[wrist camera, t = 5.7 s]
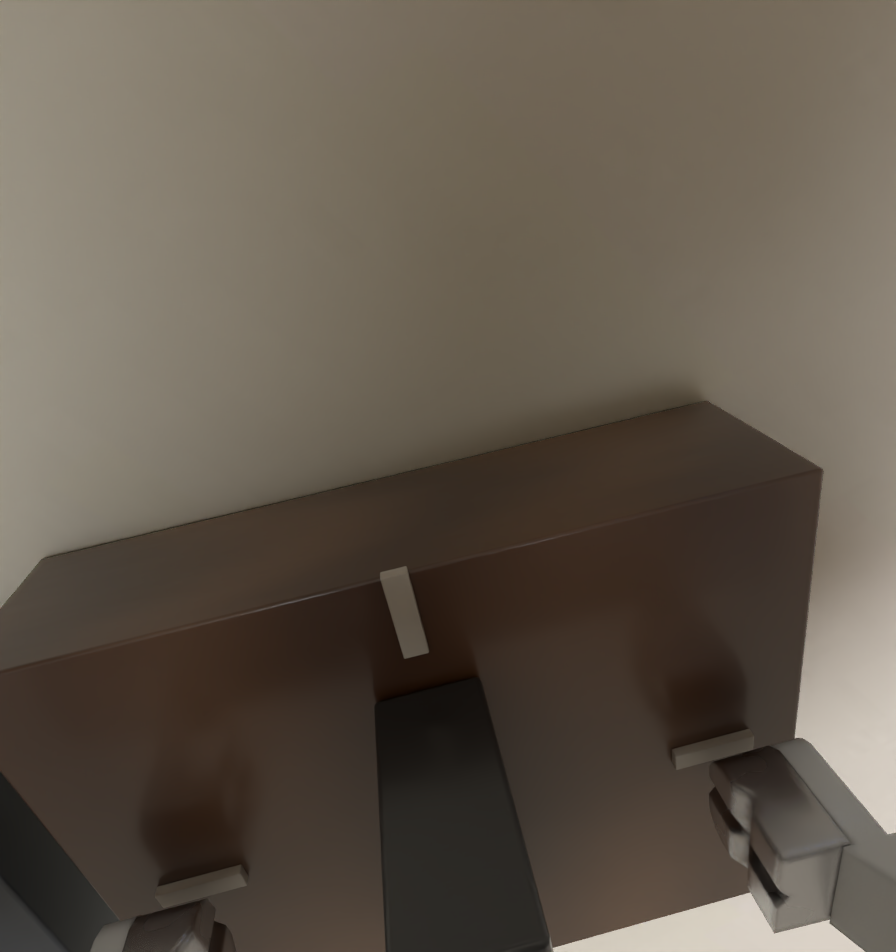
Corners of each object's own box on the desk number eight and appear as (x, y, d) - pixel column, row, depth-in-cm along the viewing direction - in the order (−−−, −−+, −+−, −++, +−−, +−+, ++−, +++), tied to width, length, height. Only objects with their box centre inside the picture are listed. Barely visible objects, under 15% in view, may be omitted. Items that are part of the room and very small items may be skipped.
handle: (372, 700, 9) (387, 1021, 5) (479, 672, 9) (560, 973, 5) (449, 923, 11) (491, 1228, 8) (530, 900, 11) (605, 1195, 8)
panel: (707, 394, 11) (835, 466, 8) (704, 766, 15) (784, 895, 13) (37, 554, 10) (-83, 693, 7) (242, 890, 15) (217, 1056, 12)
